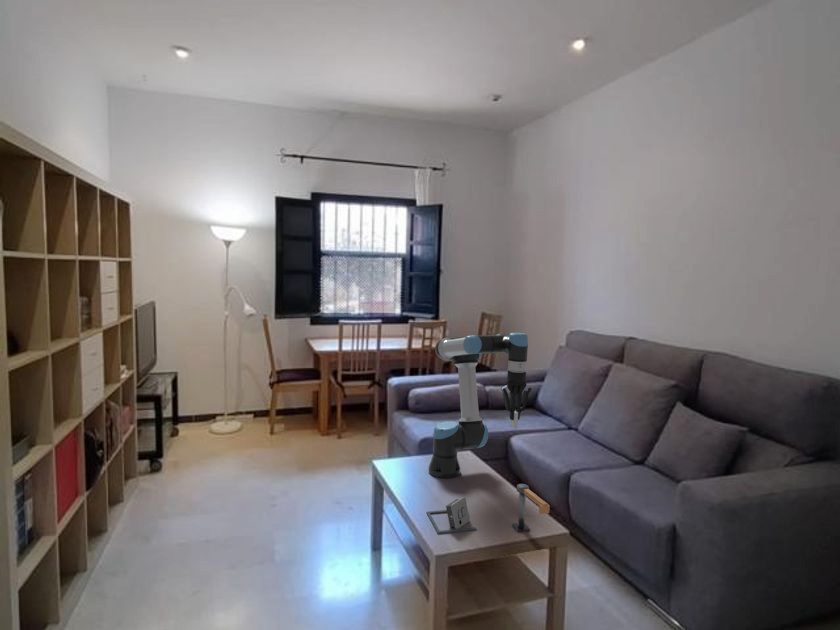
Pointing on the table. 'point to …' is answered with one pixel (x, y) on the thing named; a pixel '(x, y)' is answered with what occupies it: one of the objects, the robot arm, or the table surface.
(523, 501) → the mast
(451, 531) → the bay
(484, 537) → the table surface
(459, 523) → the electrical switch
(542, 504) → the lever
